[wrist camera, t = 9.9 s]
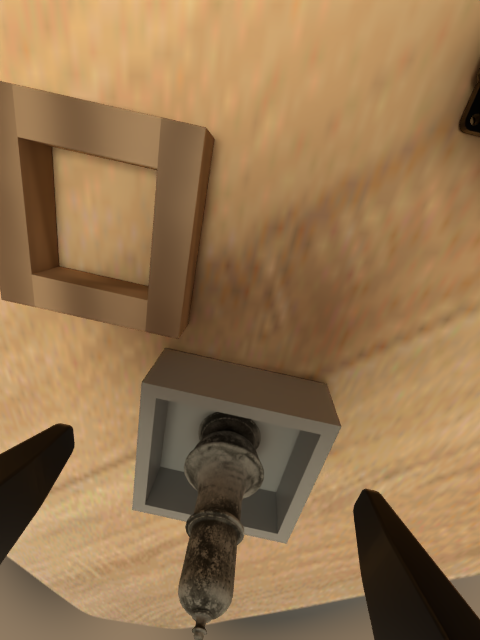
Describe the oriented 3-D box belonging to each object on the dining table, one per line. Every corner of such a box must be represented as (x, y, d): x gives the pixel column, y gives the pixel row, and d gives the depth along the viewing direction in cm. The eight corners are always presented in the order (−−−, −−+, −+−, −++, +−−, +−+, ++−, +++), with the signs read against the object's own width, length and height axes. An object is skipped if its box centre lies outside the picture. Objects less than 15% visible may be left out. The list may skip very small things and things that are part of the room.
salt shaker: (269, 413, 22) (273, 624, 11) (259, 465, 24) (254, 682, 13) (196, 403, 22) (129, 600, 11) (193, 455, 24) (135, 661, 13)
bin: (326, 384, 22) (341, 426, 17) (283, 491, 27) (286, 543, 23) (165, 348, 22) (141, 382, 17) (152, 462, 27) (132, 509, 23)
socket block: (214, 138, 16) (205, 127, 14) (187, 324, 21) (178, 339, 18) (10, 92, 16) (-33, 73, 13) (31, 289, 20) (1, 299, 18)
